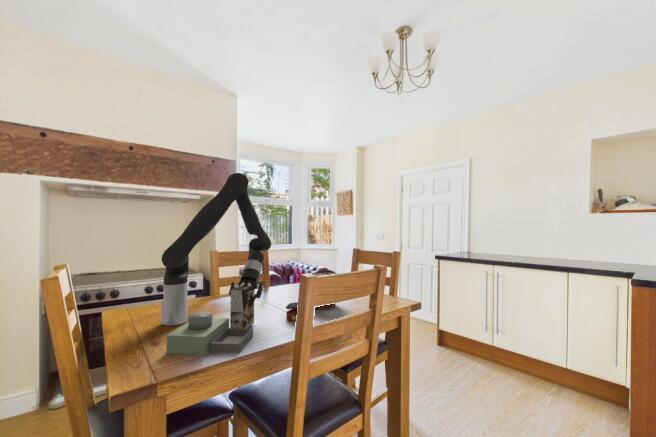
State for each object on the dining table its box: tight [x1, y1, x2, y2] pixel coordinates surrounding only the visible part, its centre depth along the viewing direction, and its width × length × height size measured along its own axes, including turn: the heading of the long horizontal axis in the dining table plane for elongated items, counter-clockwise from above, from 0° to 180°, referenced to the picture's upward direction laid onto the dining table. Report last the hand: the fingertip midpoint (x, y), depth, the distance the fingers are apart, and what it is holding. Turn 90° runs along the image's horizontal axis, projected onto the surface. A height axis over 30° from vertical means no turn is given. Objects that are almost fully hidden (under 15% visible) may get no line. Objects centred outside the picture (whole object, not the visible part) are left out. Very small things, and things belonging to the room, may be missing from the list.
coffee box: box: [229, 286, 255, 329], centre depth 118 cm, size 9×6×16 cm
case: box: [311, 269, 338, 311], centre depth 147 cm, size 18×20×18 cm
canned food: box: [285, 301, 299, 323], centre depth 130 cm, size 11×10×10 cm
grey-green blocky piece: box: [166, 311, 254, 356], centre depth 103 cm, size 24×18×10 cm
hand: (241, 306), depth 116 cm, fingers closed on coffee box, 7 cm apart
